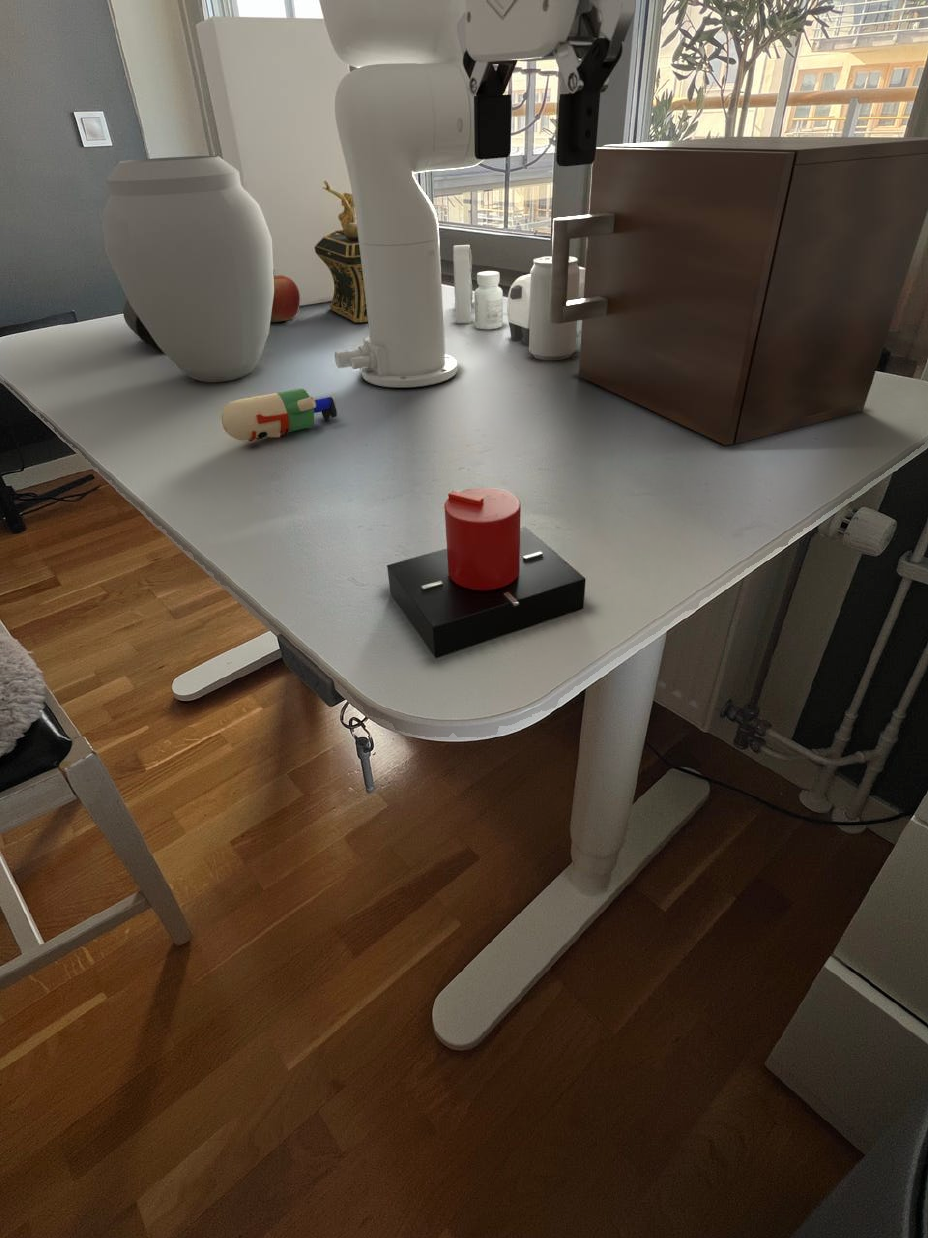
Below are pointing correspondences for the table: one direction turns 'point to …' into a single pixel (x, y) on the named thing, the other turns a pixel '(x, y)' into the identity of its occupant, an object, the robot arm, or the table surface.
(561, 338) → the beverage can
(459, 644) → the valve panel
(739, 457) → the table surface
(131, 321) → the end cap
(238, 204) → the vase
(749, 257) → the cabinet door
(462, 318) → the handheld gaming console
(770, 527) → the table surface
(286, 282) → the apple
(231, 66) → the storage box
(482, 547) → the red rotary knob
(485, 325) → the pill bottle
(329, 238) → the decorative box
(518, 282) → the giant panda
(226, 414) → the toy figurine
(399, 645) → the table surface
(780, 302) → the cabinet
